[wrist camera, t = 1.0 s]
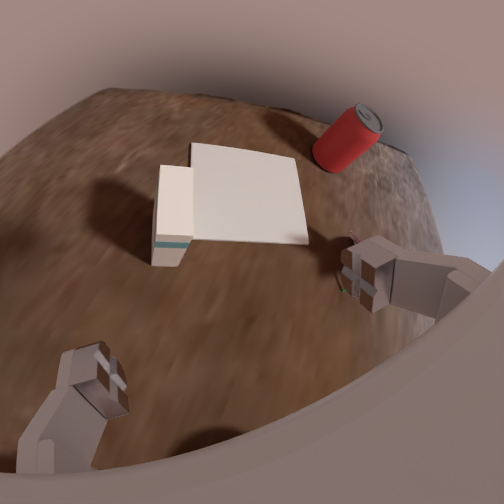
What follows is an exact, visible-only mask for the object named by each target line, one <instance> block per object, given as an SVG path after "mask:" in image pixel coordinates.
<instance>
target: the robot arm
mask: <svg viewBox="0 0 504 504" xmlns="http://www.w3.org/2000/svg"><path fill="white" fill-rule="evenodd" d="M341 262H342V263H343V264H344V267H343V269H342V271H341V280H342V283H343V286H344V288H345V289H346V291H347V292H348V293H349V294H350V295H351V296H354V297H359V299H360V304H362V305H363V306H364V307H365V308H366V309H367V310H369V311H370V312H371V313H373V312H375V311H377V310H379V309H381V308H382V307H384V306H386V305H388V304H391V305H394V306H397V307H400V308H404V309H407V310H410V311H413V312H416V313H419V314H422V315H425V316H429V317H432V318H435V319H436V321H435V324H434V325H433V326H432V327H431V328H430V329H428V330H427V331H426V332H425V333H423V334H422V335H421V336H419V337H418V338H417V339H415V340H414V341H413V342H411V343H410V344H409V345H407V346H406V347H404V348H403V349H402V350H400V351H399V352H397V353H396V354H394V355H393V356H392V357H390V358H389V359H387V360H386V361H384V362H383V363H381V364H380V365H378V366H377V367H375V368H373V369H372V370H370V371H369V372H367V373H366V374H364V375H362V376H361V377H359V378H357V379H356V380H354V381H352V382H351V383H349V384H347V385H346V386H344V387H342V388H340V389H339V390H337V391H335V392H333V393H331V394H329V395H328V396H326V397H324V398H322V399H320V400H318V401H316V402H314V403H312V404H310V405H308V406H306V407H304V408H302V409H300V410H298V411H296V412H294V413H292V414H290V415H288V416H285V417H283V418H281V419H279V420H277V421H274V422H272V423H270V424H267V425H265V426H263V427H260V428H258V429H255V430H253V431H250V432H248V433H245V434H242V435H240V436H237V437H234V438H232V439H229V440H226V441H223V442H220V443H217V444H214V445H211V446H208V447H205V448H201V449H198V450H195V451H191V452H188V453H184V454H181V455H177V456H173V457H169V458H165V459H161V460H156V461H152V462H147V463H142V464H137V465H132V466H126V467H120V468H114V469H107V470H99V471H98V470H96V469H94V468H93V467H91V466H90V465H91V462H92V459H93V457H94V454H95V451H96V449H97V446H98V444H99V441H100V438H101V436H102V433H103V431H104V428H105V426H106V423H107V419H111V418H115V417H119V416H122V415H126V414H129V405H128V396H127V395H126V394H125V393H124V390H125V388H126V387H127V381H126V376H125V373H124V370H123V368H122V366H121V364H120V363H119V361H118V360H117V359H116V358H114V357H112V356H110V349H109V347H108V346H107V345H106V343H105V342H103V341H98V342H95V343H92V344H88V345H85V346H82V347H78V348H76V349H72V350H69V351H65V352H64V353H62V355H61V360H60V365H59V371H58V376H57V383H56V389H55V390H52V391H51V393H50V394H49V395H48V397H47V398H46V400H45V401H44V403H43V404H42V406H41V407H40V408H39V410H38V411H37V413H36V414H35V416H34V417H33V419H32V420H31V422H30V424H29V425H28V427H27V428H26V430H25V431H24V433H23V434H22V436H21V438H20V439H19V441H18V450H17V463H16V474H15V473H2V472H0V504H504V260H503V261H502V262H501V263H500V264H499V265H498V267H496V269H495V270H494V271H493V272H490V271H489V270H487V269H486V268H484V267H482V266H481V265H479V264H477V263H476V262H474V261H472V260H470V259H469V258H464V257H457V256H450V255H443V254H435V253H428V252H421V251H413V250H411V251H409V252H408V251H406V250H405V249H403V248H401V247H399V246H398V245H396V244H394V243H392V242H390V241H389V240H387V239H385V238H383V237H381V236H380V235H374V236H372V237H370V238H368V239H365V240H364V241H362V242H360V243H358V244H355V245H353V246H351V247H348V248H346V249H344V250H342V252H341Z"/></svg>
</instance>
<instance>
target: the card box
mask: <svg viewBox="0 0 504 504" xmlns="http://www.w3.org/2000/svg"><path fill="white" fill-rule="evenodd" d="M193 175H194V168H191V167H180V166H167V165H161V166H160V171H159V176H158V182H157V189H156V196H155V202H154V209H153V224H152V257H151V266H177V267H178V265H179V263H180V261H181V259H182V257H183V255H184V253H185V251H186V249H187V248H188V246H189V244H190V242H191V240H192V238H193V236H194V234H193Z"/></svg>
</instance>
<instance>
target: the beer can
mask: <svg viewBox="0 0 504 504" xmlns="http://www.w3.org/2000/svg"><path fill="white" fill-rule="evenodd" d="M383 130H384V127H383V123H382V121H381V119H380V118H379V116H378V115H377V114H376V113H375V112H374V111H373V110H372V109H370V108H369V107H368V106H366V105H364V104H356V106H354V107H352V108H349V109H347V110H346V111H345V112H344V113H343V114H342V115H341V116H340V117H339V118H338V119H337V120H336V121H335V122H334V123H333V124H332V125H331V126H330V127H329V128H328V130H327V131H326V132H325V133H324V134H323V135H322V136H321V137H320V138H319V139H318V140H317V141H316V142H315V143H314V145H313V148H312V152H313V156H314V158H315V160H316V162H317V163H318V164H319V165H320V166H321V167H322V168H323V169H324V170H326V171H328V172H332V173H339V172H340V171H342V170H343V169H344V168H346V167H347V166H348V165H349V164H350V163H352V162H353V161H354V160H355V159H356V158H358V157H359V156H360V155H361V154H362V153H364V152H365V151H366V150H367V149H368V148H370V147H371V146H372V145H373V144H374V143H376V142H377V140H378V139H379V137H380V134H381V133H382V132H383Z"/></svg>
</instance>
